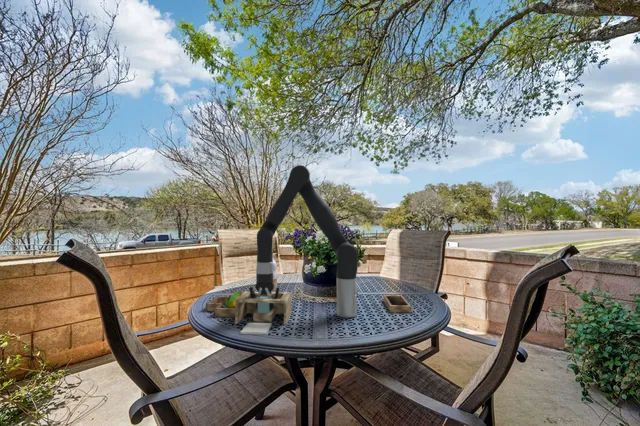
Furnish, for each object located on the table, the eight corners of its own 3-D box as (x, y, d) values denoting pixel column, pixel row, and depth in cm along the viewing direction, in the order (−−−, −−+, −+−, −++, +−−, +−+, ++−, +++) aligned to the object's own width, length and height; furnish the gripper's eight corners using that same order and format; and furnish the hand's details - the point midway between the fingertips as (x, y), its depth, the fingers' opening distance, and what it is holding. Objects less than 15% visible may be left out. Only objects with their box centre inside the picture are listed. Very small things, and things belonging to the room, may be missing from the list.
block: (271, 309, 131) (271, 296, 132) (268, 313, 126) (268, 299, 127) (260, 309, 132) (260, 296, 132) (257, 313, 127) (257, 299, 127)
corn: (222, 297, 136) (236, 287, 156) (221, 313, 135) (235, 301, 155) (237, 298, 135) (249, 288, 155) (236, 314, 135) (248, 302, 155)
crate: (291, 313, 135) (291, 292, 136) (286, 324, 121) (286, 300, 122) (245, 312, 137) (245, 291, 137) (235, 323, 123) (235, 299, 123)
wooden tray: (402, 301, 156) (402, 295, 156) (411, 312, 137) (411, 306, 137) (383, 300, 156) (383, 295, 156) (390, 312, 137) (390, 305, 137)
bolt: (390, 306, 153) (404, 314, 139) (382, 301, 153) (395, 309, 138) (395, 296, 154) (409, 303, 139) (387, 291, 153) (400, 298, 139)
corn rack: (272, 299, 158) (272, 293, 158) (258, 317, 130) (258, 309, 130) (222, 299, 160) (222, 292, 160) (198, 316, 132) (198, 308, 132)
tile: (271, 325, 121) (271, 323, 121) (265, 334, 111) (265, 332, 111) (248, 324, 121) (248, 322, 121) (240, 334, 111) (240, 332, 111)
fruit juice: (275, 302, 152) (275, 250, 153) (257, 302, 153) (257, 250, 153) (278, 297, 162) (278, 248, 162) (262, 297, 162) (262, 248, 163)
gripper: (282, 270, 133) (282, 307, 132) (251, 270, 134) (251, 306, 133) (278, 273, 125) (278, 312, 125) (246, 273, 126) (246, 312, 126)
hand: (264, 309), depth 129 cm, fingers closed on block, 5 cm apart
